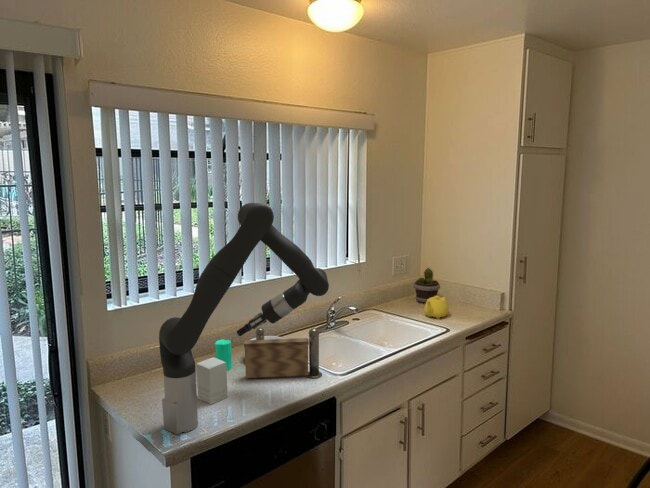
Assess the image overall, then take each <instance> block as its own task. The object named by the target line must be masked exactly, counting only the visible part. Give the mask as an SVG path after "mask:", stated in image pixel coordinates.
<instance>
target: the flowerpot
mask: <svg viewBox="0 0 650 488" xmlns="http://www.w3.org/2000/svg"><path fill="white" fill-rule="evenodd" d="M422 273H423V275H422V276H423V277H422V276H420V277H418V279H416V280H415V281H414V282H413V284H412V285H413V288H414V290H415V294H416V295H415V299H416V301H417V302H418V303H419V304H425V305H426V302H427V300H428V299H429V298H431V297H435V296H438V292H439V290H440V288H441V284H440V283H439V281H438V280H434V276H435V275H434V271H433V269H431V266H430V267H429V265H428V267H427V268H425V269H424V271H422Z"/></svg>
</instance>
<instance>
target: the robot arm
mask: <svg viewBox="0 0 650 488" xmlns="http://www.w3.org/2000/svg"><path fill="white" fill-rule="evenodd" d="M274 217H275V216H274V212H273V209H272V208H271V207H270V205H267V204H266V203H260V202H248V203H246V204H243V205H242V206H241V207H240V208H239V209H238V212H237V221H238V224H239V225H240V226H239V228H238V230H236V233H235V235H234V236H233V237H232V239H230V240H229V241H228V242H227V243H226V244H225V245H224V246H223V247H222V248H221V249H220V250H218V252H217V253H216V254H215V255H213V257H212V258H211V259H210V260H209V262H208V264H206V266H205V268H204V270H203V271H202V273H200V276H199V277H198V280H197V283H196V286H195V288H194V291H193V295H192V299H191V302H190V303H189V306H188V307H187V309H186V310H185V311H184V312H183V315H182V316H181V317H170V318H168V319H166V321H164V322H163V323H162V325H161V327H160V329H159V333H158V341H159V342H158V343H159V353H160V363H161V367H162V371H163V373H162V374H163V384H164V385H163V386H164V387H163V388H164V398H162V401H161V403H162V405H161V406H162V420H163V421H162V422H163V429H164V430H166V431H168V432H170V433H173V434H175V435H179V434H183V433H182V432H184V433H187V431H188V432H190V430H191V431H193V430H195V429H196V428H197V426H198V425H199V414H198V389H197V368H196V362H195V361H196V360H195V359H194V357H193V352H192V349H194V347H195V346H196V344H197V343H198V341H199V339H200V337H201V336H202V335H201V334H202V333H203V331H204V329H205V327H206V325H207V323H208V321H209V320H210V318H211V316H212V315H213V313H214V311H215V310H216V308H217V307H218V306H219V304H220V303H221V300H223V297H224V296H225V295H226V293H227V292H228V290H229V288H230V287H231V286H232V284H233V283H234V281H235V280H236V279H237V277H238V274H239V273H240V271H241V270H242V268H243V266H244V265H245V264H246V262H247V260H248V259H249V258H250V255H251V254H252V252H253V251H254V249H255V248H256V246H258V244H259V243H260V242H262V243H263V244H264V245H265V246H266V247H268V249H269V250H270V251H271V252H273V253H274V255H275V256H277V257H278V258H279V259H280V260H281V262H283V264H284V265H286V267H287V268H288V269H289V270H291V272H292V273H293V274H294V275H296V277H297V278H298V280H297V281H296V282H295V284H293V285H292V286H290V287H289V288H287V289H286V290H284V291H283V292H281V293H278V294H277V295H276V296H274V297H272V298H270V299H269V300H268V301H267V302H265V303H262V305H261V307H260V308H261V311H262V312H259V313H257V314H256V315H254V317H253V318H251V319H249V320H248V322H247V323H245V324H244V326H242V327H241V328H239V329H238V330H236V334H237V336H238V337H241V336H243V335H245V334H246V333H248V332H251V331H252V330H256V329H257V328H260V326H261V327H262V326H263V325H265V324H266V323H267V322H269V323H270V324H271V325H272V324H275V323H277V322H279V321H280V320H282V319H283V318H285V317H286V316H288V315H289V314H291V313H292V312H293V311H294V310H295V309H297V308H299V307H300V306H302V305H304V304H305V303H306V302H307V300H308V297H309V295H310V294H311V295H313V296H316V297H322V296H324V295H326V294H327V293H328V291H329V288H330V285H329V279H328V276H327V273H326V271H325V270H324V269H322V268H320V267H315V266H314V263H313V261H312V259H310V257H309V256H308V255H307V254H306V253H305V252H304V251H303V250H302V248H300V247H299V246H298V245H297V244H295V243H294V242H293V241H292V240H290V239H289V238H288V237H287V236H285V235H283V233H282V232H280V231H279V230H278V229H277V228H276V227H275V226H274V225H273V223H274Z"/></svg>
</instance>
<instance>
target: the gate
mask: <svg viewBox="0 0 650 488" xmlns="http://www.w3.org/2000/svg"><path fill="white" fill-rule="evenodd" d="M243 347H244V362H245V363H244V367H245V369H244V370H245V379H252V378H253V379H254V378H256V379H258V378H257V377H278V376H300V375H308V372H309V337H301V338H300V337H299V338H284V339H269V340H251V339H248V340H247V339H246V340H244V342H243Z"/></svg>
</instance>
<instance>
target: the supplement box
mask: <svg viewBox="0 0 650 488" xmlns="http://www.w3.org/2000/svg"><path fill="white" fill-rule="evenodd" d="M195 368H196V387H197V399H199V400H201V401H203V402H205V403H206V404H208V405H213V404H215V403H217V402H219V401H222V400H224V399H227V398H228V396H229V395H228V379H227V378H228V377H227V376H228V375H227V374H228V373H227V371H226V362H224V361H222V360H219V359H217V358H216V357H210V358H207V359H205V360H202V361H199V362H195Z"/></svg>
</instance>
